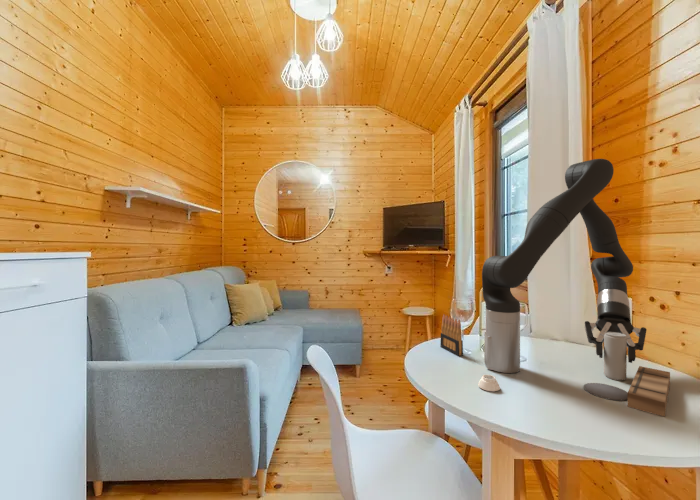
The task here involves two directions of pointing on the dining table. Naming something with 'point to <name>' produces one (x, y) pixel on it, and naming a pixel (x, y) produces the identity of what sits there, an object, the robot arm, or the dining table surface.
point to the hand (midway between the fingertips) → (615, 358)
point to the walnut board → (649, 390)
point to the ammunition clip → (451, 336)
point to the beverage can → (615, 355)
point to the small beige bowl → (488, 383)
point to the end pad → (606, 391)
